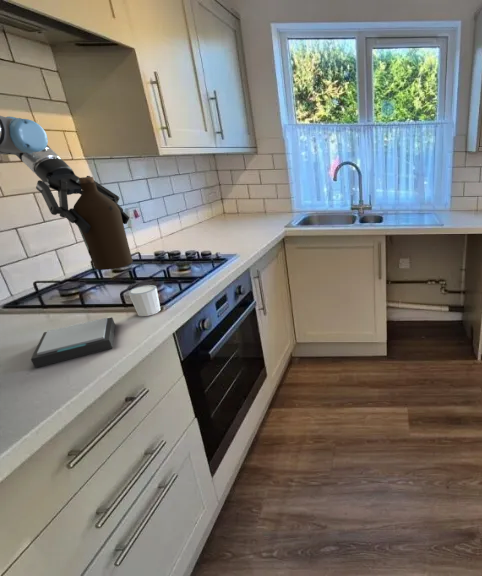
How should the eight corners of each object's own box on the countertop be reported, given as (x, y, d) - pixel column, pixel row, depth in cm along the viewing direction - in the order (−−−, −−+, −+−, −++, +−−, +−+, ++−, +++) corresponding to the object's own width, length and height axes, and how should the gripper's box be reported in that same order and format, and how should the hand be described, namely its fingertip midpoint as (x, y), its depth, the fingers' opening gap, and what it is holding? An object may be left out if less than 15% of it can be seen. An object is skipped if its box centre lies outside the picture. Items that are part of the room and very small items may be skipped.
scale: (35, 368, 79) (29, 356, 78) (47, 340, 90) (42, 330, 89) (112, 348, 86) (108, 337, 85) (115, 325, 97) (111, 315, 96)
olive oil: (139, 257, 114) (114, 174, 104) (130, 267, 104) (102, 178, 95) (99, 261, 110) (70, 176, 101) (86, 272, 101) (52, 180, 91)
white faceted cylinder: (147, 318, 100) (139, 295, 97) (129, 315, 102) (121, 292, 99) (168, 308, 106) (162, 286, 103) (151, 305, 108) (144, 283, 105)
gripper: (0, 159, 88) (67, 225, 90) (94, 154, 109) (148, 208, 110) (-5, 181, 92) (60, 244, 93) (88, 173, 112) (140, 225, 114)
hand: (108, 225), depth 102 cm, fingers closed on olive oil, 11 cm apart
